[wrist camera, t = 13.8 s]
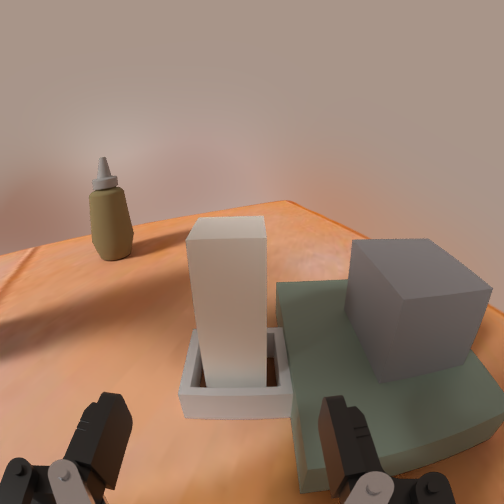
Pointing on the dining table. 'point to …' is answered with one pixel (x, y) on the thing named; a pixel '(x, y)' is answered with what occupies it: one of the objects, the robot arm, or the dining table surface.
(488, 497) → the dining table surface
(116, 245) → the squeeze bottle
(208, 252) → the tall white pillar block
